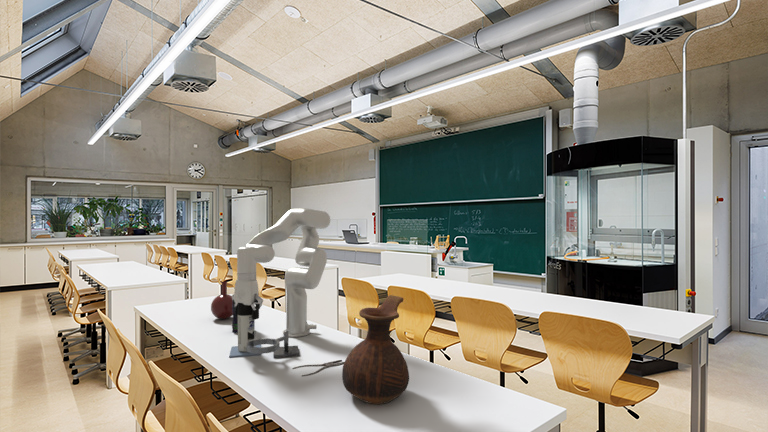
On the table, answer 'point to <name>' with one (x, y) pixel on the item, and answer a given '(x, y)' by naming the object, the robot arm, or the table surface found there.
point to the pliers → (322, 365)
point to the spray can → (245, 326)
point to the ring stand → (274, 347)
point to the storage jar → (234, 321)
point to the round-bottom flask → (222, 304)
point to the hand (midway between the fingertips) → (247, 317)
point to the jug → (377, 358)
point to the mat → (236, 353)
